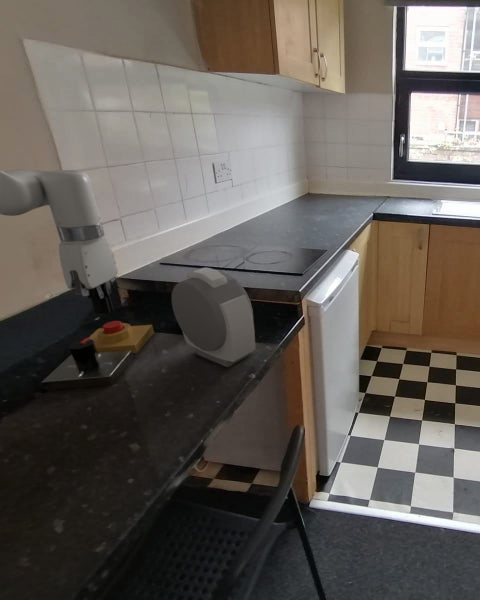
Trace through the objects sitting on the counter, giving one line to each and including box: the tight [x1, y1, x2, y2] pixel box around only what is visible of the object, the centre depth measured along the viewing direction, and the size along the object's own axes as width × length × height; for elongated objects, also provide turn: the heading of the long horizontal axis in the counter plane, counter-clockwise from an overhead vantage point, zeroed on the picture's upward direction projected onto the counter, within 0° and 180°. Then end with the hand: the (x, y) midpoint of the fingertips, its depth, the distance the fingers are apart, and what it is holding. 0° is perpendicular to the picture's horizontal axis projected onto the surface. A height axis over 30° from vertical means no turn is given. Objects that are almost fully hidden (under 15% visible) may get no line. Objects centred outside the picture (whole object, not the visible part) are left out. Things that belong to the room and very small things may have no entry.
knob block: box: [88, 322, 155, 355], centre depth 94 cm, size 12×10×4 cm
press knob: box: [102, 320, 123, 334], centre depth 93 cm, size 4×4×2 cm
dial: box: [68, 337, 101, 370], centre depth 82 cm, size 4×4×5 cm
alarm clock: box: [171, 266, 256, 368], centre depth 86 cm, size 18×8×20 cm, turn 59°
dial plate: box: [41, 350, 134, 391], centre depth 83 cm, size 12×10×2 cm
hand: (104, 312), depth 91 cm, fingers closed
